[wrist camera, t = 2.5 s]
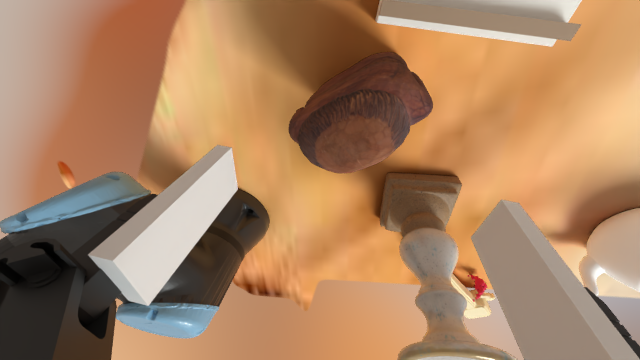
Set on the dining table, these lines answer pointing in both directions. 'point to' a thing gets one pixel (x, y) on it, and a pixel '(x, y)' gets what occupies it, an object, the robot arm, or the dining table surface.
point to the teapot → (614, 251)
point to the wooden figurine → (361, 114)
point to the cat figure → (474, 297)
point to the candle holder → (432, 264)
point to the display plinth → (486, 18)
